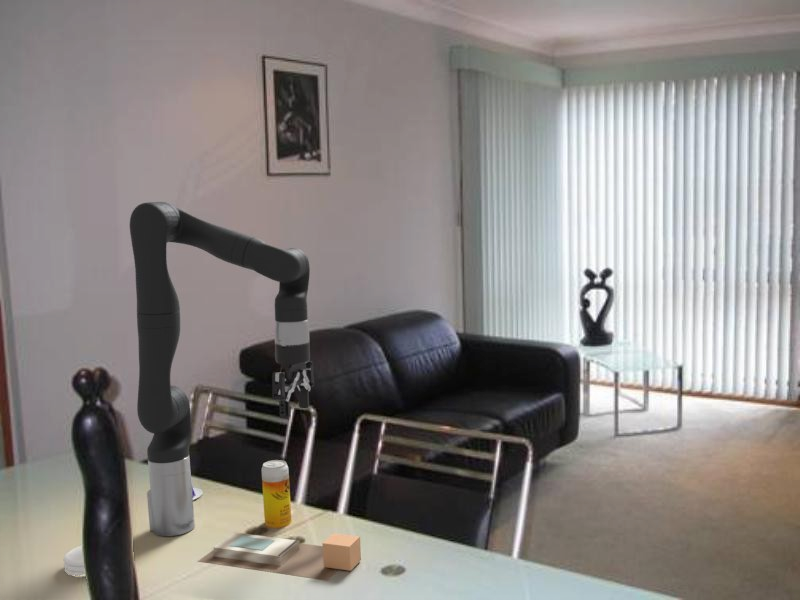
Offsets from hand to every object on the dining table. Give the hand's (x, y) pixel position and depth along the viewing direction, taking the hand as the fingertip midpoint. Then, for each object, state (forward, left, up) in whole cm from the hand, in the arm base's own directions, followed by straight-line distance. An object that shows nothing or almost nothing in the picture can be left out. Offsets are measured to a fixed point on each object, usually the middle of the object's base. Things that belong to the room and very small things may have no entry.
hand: (294, 412), depth 185 cm
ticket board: (+2, -14, -28) cm, 31 cm away
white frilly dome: (-35, -28, -28) cm, 53 cm away
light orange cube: (+17, -14, -27) cm, 34 cm away
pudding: (-42, +12, -29) cm, 52 cm away
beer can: (-7, +2, -28) cm, 29 cm away
